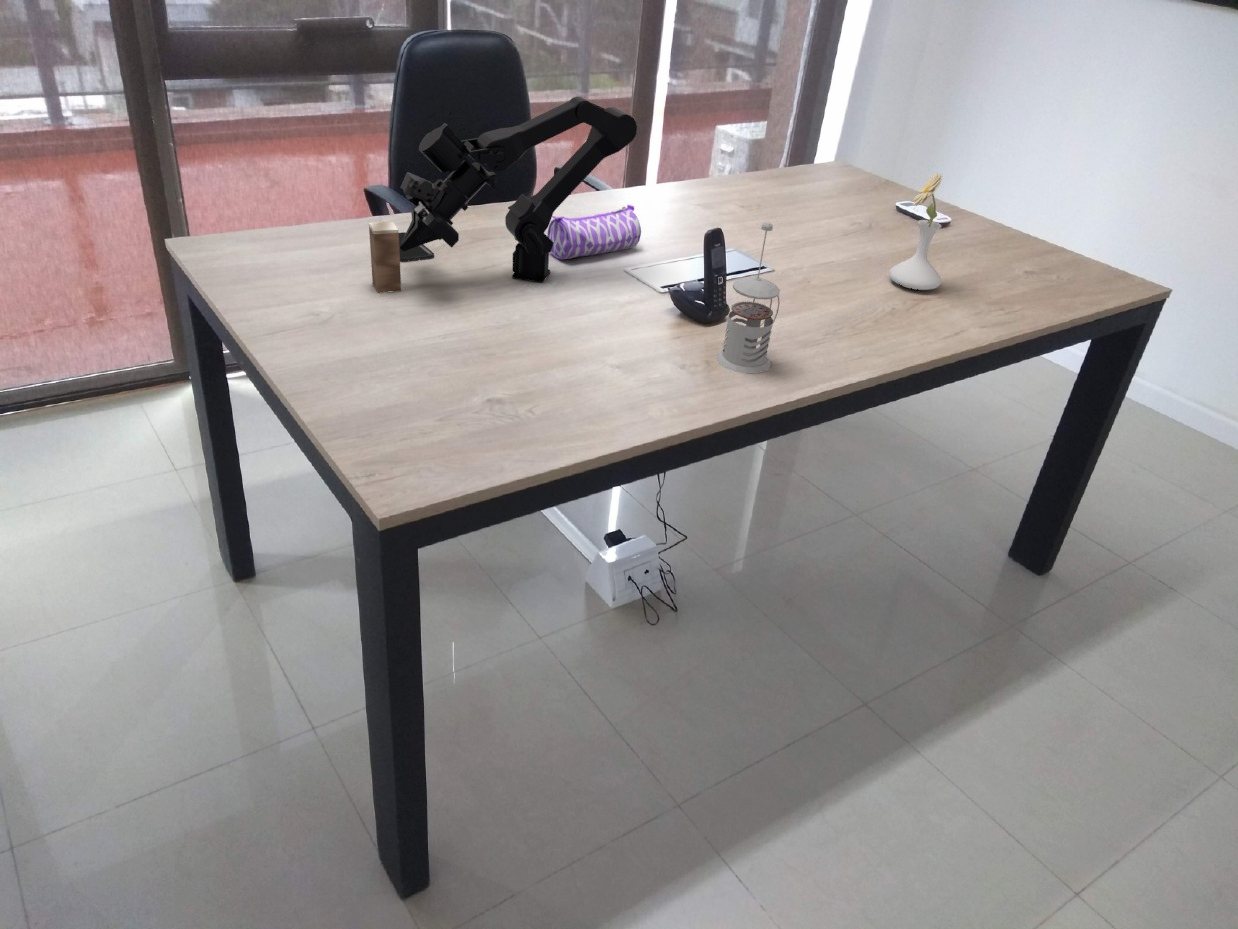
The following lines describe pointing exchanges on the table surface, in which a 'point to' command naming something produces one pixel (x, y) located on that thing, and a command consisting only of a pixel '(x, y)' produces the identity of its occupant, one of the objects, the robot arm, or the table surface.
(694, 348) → the table surface
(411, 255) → the phone
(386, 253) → the walnut block
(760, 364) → the french press
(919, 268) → the flower in vase
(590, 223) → the pencil case
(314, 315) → the table surface
